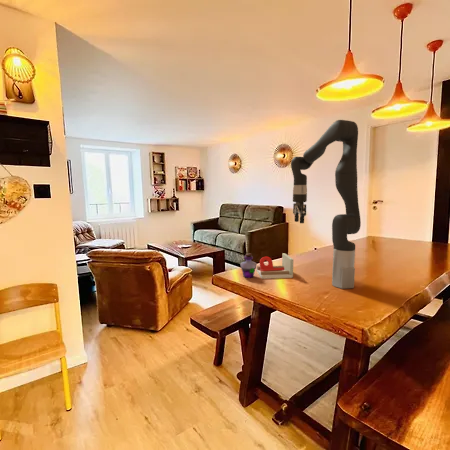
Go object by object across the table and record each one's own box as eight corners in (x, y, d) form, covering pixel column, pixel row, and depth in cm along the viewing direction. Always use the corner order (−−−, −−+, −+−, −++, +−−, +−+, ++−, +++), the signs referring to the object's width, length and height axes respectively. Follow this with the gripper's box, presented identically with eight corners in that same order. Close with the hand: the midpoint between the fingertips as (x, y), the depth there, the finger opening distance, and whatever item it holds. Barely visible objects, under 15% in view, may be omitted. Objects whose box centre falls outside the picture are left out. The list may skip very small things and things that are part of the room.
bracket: (263, 271, 146) (261, 255, 148) (260, 271, 151) (259, 256, 152) (285, 269, 149) (283, 254, 151) (282, 270, 153) (280, 255, 155)
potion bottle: (250, 280, 142) (250, 256, 140) (236, 276, 148) (236, 253, 146) (260, 276, 148) (260, 253, 147) (247, 273, 154) (247, 251, 152)
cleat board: (292, 277, 145) (293, 259, 144) (261, 278, 144) (262, 260, 143) (284, 270, 159) (285, 253, 158) (256, 270, 158) (256, 254, 157)
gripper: (311, 193, 152) (310, 223, 154) (301, 193, 166) (301, 221, 168) (297, 193, 151) (296, 224, 153) (289, 193, 165) (288, 221, 167)
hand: (299, 222), depth 161 cm, fingers open, 8 cm apart
